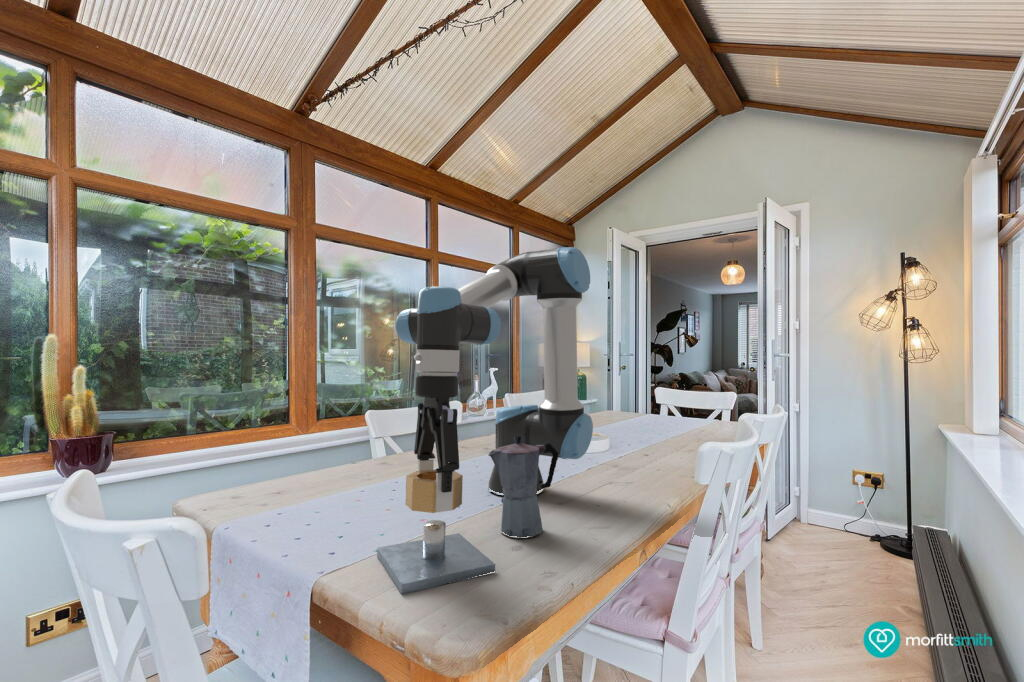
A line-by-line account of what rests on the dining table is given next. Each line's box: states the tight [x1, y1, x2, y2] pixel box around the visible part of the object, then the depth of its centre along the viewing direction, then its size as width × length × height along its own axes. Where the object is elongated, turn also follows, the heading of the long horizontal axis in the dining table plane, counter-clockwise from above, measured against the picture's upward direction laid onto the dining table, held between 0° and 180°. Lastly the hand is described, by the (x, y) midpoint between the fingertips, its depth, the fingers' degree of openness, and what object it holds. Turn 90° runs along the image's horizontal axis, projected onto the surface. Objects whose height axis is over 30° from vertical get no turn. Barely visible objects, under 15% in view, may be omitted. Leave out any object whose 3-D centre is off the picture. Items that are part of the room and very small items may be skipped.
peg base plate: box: [376, 519, 496, 595], centre depth 85 cm, size 16×16×7 cm
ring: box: [405, 468, 464, 514], centre depth 85 cm, size 9×9×5 cm
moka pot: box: [487, 436, 559, 537], centre depth 102 cm, size 10×15×20 cm, turn 111°
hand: (433, 503), depth 85 cm, fingers closed on ring, 9 cm apart
